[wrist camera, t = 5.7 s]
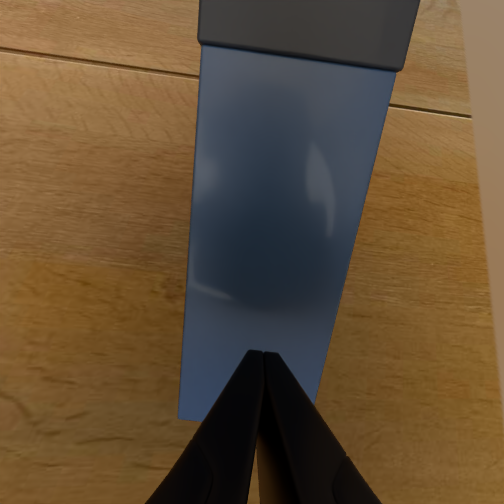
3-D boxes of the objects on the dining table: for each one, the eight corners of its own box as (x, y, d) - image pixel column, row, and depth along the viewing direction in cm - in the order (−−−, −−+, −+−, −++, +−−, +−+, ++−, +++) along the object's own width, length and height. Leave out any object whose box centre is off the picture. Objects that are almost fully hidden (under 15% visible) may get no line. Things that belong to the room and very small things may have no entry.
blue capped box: (310, 436, 12) (423, -6, 8) (173, 421, 12) (201, -40, 7) (295, 350, 17) (358, 48, 12) (197, 339, 17) (223, 28, 12)
